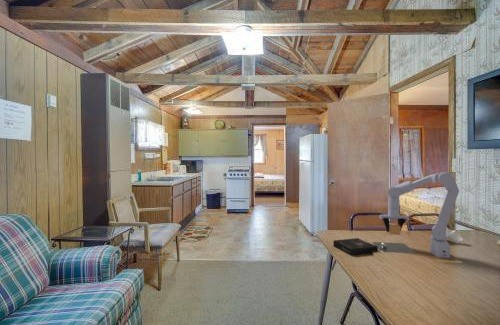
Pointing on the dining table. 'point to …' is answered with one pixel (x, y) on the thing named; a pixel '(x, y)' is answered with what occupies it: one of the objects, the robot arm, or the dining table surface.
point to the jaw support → (453, 236)
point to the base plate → (393, 247)
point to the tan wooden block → (394, 229)
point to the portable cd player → (355, 246)
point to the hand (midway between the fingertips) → (393, 231)
